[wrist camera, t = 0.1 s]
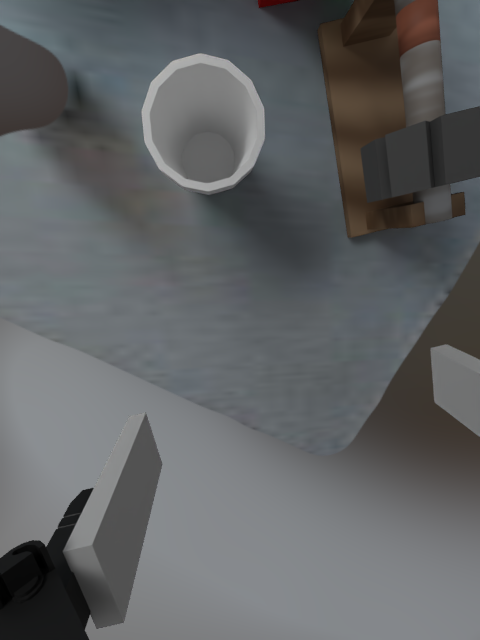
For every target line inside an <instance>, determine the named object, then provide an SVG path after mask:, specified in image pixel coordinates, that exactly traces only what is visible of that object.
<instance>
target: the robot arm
mask: <svg viewBox="0 0 480 640" xmlns="http://www.w3.org/2000/svg"><path fill="white" fill-rule="evenodd" d="M431 362H432V376H433V389H434V402H435V403H436V404H438V405H439V406H440V407H442V408H443V409H444V410H445V411H447V412H448V413H449V414H451V415H452V416H453V417H454V418H456V419H457V420H458V421H460V422H461V423H462V424H464V425H465V426H466V427H468V428H469V429H470V430H472V431H473V432H474V433H475V434H477V435H478V436H479V437H480V360H479V359H477V358H475V357H473V356H470V355H468V354H466V353H464V352H462V351H460V350H458V349H455V348H453V347H451V346H449V345H442V346H438V347H433V348H431ZM161 467H162V462H161V458H160V455H159V452H158V449H157V446H156V443H155V440H154V436H153V433H152V430H151V427H150V424H149V421H148V418H147V415H146V413H141V414H137V415H133V416H129V417H128V420H127V422H126V424H125V426H124V428H123V430H122V432H121V434H120V436H119V438H118V440H117V442H116V444H115V446H114V448H113V450H112V452H111V454H110V456H109V458H108V460H107V463H106V464H105V466H104V468H103V471H102V473H101V475H100V477H99V479H98V481H97V483H96V485H95V487H94V488H91V489H86V490H83V491H82V492H81V493H80V494H79V495H78V496H77V497H76V498H75V499H74V500H73V501H72V502H71V503H70V505H69V507H68V509H67V511H66V512H65V514H64V518H62V520H61V522H60V523H59V525H58V529H56V531H55V532H54V534H53V536H52V538H51V540H50V541H49V543H48V545H47V547H45V545H44V544H43V543H42V542H41V541H34V540H32V541H29V542H26V543H23V544H21V545H19V546H17V547H15V548H13V549H12V550H10V551H9V552H8V553H6V554H5V555H4V556H3V557H1V558H0V640H89V638H88V636H87V634H86V632H85V627H86V624H87V621H88V618H89V615H91V617H92V619H93V622H94V624H95V626H96V628H97V629H98V628H103V627H107V626H111V625H115V624H120V623H123V622H124V620H125V615H126V612H127V608H128V604H129V600H130V595H131V591H132V587H133V583H134V579H135V575H136V571H137V566H138V562H139V558H140V554H141V550H142V546H143V542H144V537H145V534H146V529H147V525H148V521H149V517H150V513H151V509H152V504H153V501H154V496H155V492H156V488H157V484H158V479H159V476H160V472H161Z"/></svg>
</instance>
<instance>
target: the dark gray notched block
mask: <svg viewBox="0 0 480 640" xmlns="http://www.w3.org/2000/svg"><path fill="white" fill-rule="evenodd" d="M360 149H361V150H360V151H361V159H362V167H363V174H364V182H365V190H366V197H367V203H370V202H374V201H379V200H383V199H387V198H391V197H396V196H400V195H405V194H409V193H413V192H417V191H422V190H426V189H430V188H434V187H438V186H443V185H447V184H451V183H455V182H459V181H463V180H468V179H472V178H476V177H480V106H479V107H475V108H471V109H467V110H462V111H458V112H454V113H450V114H446V115H442V116H439V117H438V118H436V119H434V120H432V121H430V122H429V121H423V122H420V123H417V124H414V125H411V126H409V127H406V128H403V129H400V130H398V131H395V132H392V133H389V134H387V135H385V137H383V138H379V139H375V140H373V141H372V142H370V143H368V144H367V145H365V146H363V147H362V148H360Z"/></svg>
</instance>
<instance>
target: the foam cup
mask: <svg viewBox="0 0 480 640" xmlns="http://www.w3.org/2000/svg"><path fill="white" fill-rule="evenodd" d="M141 112H142V122H143V131H144V141H145V144H146V146H147V148H148V149H149V151H150V153H151V155H152V157H153V159H154V160H155V162H156V164H157V166H158V168H159V169H160V170H161V172H162V173H163V174H164V175H166V176H167V177H168V178H169V179H171V180H172V181H173V182H175V183H176V184H177V185H179V186H180V187H181V188H183V189H184V190H187V191H192V192H197V193H202V194H206V195H211V194H215V193H218V192H222V191H225V190H229V189H232V188H234V187H235V186H236V185H237V184H238V183H239V182H240V181H241V180H242V179H243V178H245V177H246V176H247V175H248V174H249V173H250V172H251V171H252V169H253V167H254V165H255V162H256V160H257V157H258V155H259V152H260V150H261V147H262V145H263V143H264V140H265V118H264V107H263V105H262V102H261V100H260V98H259V96H258V94H257V91H256V89H255V87H254V85H253V82H252V80H251V79H250V78H248V77H247V76H246V75H245V74H244V73H243V72H242V71H240V70H239V69H238V68H237V67H236V66H235V65H234V64H232V63H231V62H230V61H229V60H226V59H222V58H218V57H214V56H210V55H206V54H202V53H199V54H195V55H192V56H188V57H185V58H181V59H178V60H174V61H172V62H171V63H170V64H169V65H168V66H167V67H166V68H165V69H164V70H163V71H162V72H161V73H160V74H159V75H158V76H157V77H156V78H155V79H154V80H153V81H152V82H151V84H150V87H149V90H148V93H147V96H146V99H145V102H144V105H143V108H142V111H141Z"/></svg>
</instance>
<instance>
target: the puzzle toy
mask: <svg viewBox="0 0 480 640" xmlns="http://www.w3.org/2000/svg"><path fill="white" fill-rule="evenodd" d="M293 1H298V0H258V5H259V8H261V7H266V6H272V5H277V4H282V3H288V2H293Z"/></svg>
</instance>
